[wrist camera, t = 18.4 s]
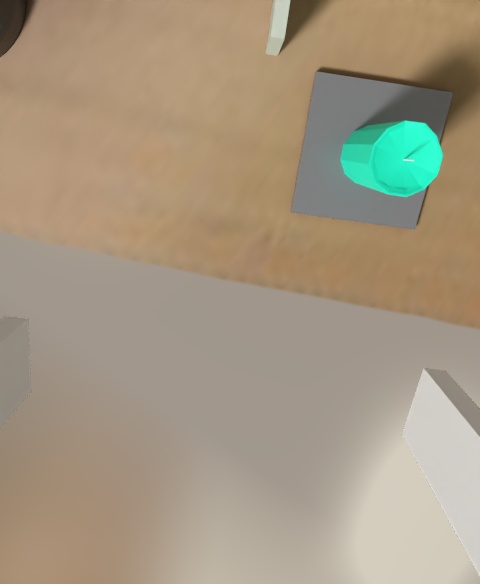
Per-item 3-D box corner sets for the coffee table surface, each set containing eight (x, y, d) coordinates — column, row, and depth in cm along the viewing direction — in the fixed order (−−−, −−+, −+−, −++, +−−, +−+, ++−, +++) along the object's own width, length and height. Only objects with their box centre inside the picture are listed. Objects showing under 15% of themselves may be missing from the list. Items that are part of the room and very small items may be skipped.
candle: (397, 181, 44) (450, 194, 33) (341, 188, 45) (375, 204, 33) (397, 121, 42) (454, 113, 31) (339, 129, 43) (374, 124, 31)
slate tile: (290, 211, 46) (291, 212, 46) (315, 72, 42) (316, 71, 41) (412, 228, 47) (414, 229, 46) (449, 93, 42) (453, 92, 42)
